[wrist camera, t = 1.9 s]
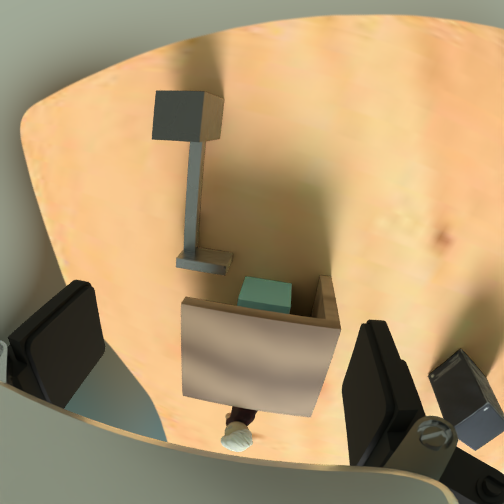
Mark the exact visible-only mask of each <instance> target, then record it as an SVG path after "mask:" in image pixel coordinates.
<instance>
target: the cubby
mask: <svg viewBox="0 0 504 504" xmlns="http://www.w3.org/2000/svg"><path fill="white" fill-rule="evenodd" d="M340 332H341V326H340V320H339V315H338V309H337V304H336V298H335V293H334V288H333V283H332V278H331V277H330V276H323V275H320V278H319V283H318V287H317V292H316V296H315V300H314V305H313V309H312V313H311V317H305V316H298V315H291V314H284V313H278V312H271V311H265V310H259V309H253V308H247V307H241V306H235V305H229V304H223V303H218V302H212V301H207V300H201V299H196V298H190V297H185V298H184V300H183V301H182V303H181V356H182V391H183V396H187V397H191V398H195V399H200V400H204V401H209V402H214V403H219V404H224V405H229V406H234V407H240V408H246V409H252V410H258V411H264V412H271V413H278V414H286V415H294V416H303V417H311V415H312V412H313V410H314V407H315V405H316V402H317V399H318V397H319V394H320V391H321V388H322V386H323V383H324V380H325V377H326V374H327V371H328V368H329V365H330V363H331V360H332V357H333V354H334V350H335V347H336V344H337V341H338V338H339V335H340Z"/></svg>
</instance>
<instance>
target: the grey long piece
mask: <svg viewBox="0 0 504 504" xmlns="http://www.w3.org/2000/svg"><path fill="white" fill-rule="evenodd" d="M223 107H224V99H223V98H221V97H218V96H215V95H213V94H210V93H207V92H204V91H156V97H155V107H154V118H153V130H152V139H154V140H172V141H187V142H190V150H189V163H188V177H187V192H186V209H185V230H184V250H183V251H182V252H181V253H180V254H179V256H178V257H177V258H176V267H178V268H184V269H189V270H195V271H201V272H207V273H213V274H219V275H226V273H227V271H228V269H229V267H230V265H231V263H232V257H233V253H232V252H226V251H219V250H213V249H207V248H200V247H198V237H199V221H200V206H201V192H202V179H203V166H204V155H205V144H206V141H211V140H217V139H220V134H221V125H222V116H223Z"/></svg>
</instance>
